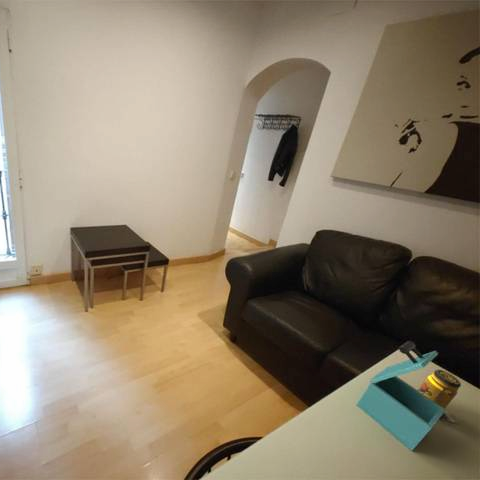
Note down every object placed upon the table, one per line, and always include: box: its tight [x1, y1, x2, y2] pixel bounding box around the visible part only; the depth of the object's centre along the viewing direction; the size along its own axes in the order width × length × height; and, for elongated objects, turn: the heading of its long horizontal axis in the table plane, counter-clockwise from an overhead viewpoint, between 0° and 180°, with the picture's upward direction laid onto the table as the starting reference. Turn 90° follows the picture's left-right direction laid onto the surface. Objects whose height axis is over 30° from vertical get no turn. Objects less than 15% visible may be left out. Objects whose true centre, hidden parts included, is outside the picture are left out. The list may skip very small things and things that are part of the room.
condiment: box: [416, 369, 462, 424], centre depth 74 cm, size 7×8×12 cm
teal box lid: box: [370, 340, 439, 383], centre depth 69 cm, size 13×11×5 cm
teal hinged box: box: [356, 376, 446, 452], centre depth 70 cm, size 13×11×9 cm
